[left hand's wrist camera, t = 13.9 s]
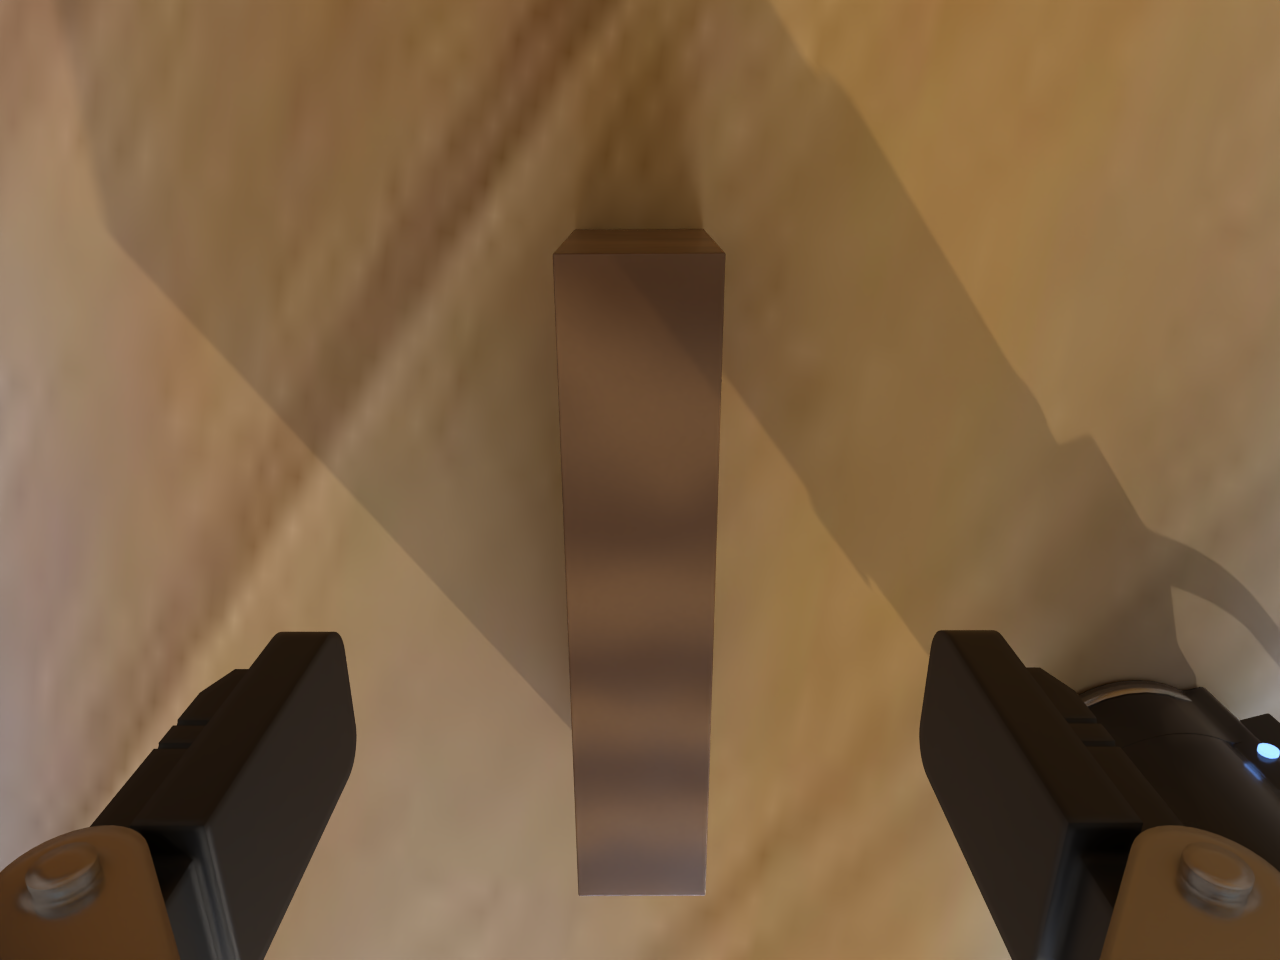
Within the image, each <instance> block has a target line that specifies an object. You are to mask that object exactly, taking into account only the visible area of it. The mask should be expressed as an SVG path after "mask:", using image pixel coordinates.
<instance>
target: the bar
mask: <svg viewBox="0 0 1280 960" xmlns="http://www.w3.org/2000/svg"><path fill="white" fill-rule="evenodd" d="M553 271H554V296H555V321H556V346H557V371H558V395H559V420H560V445H561V470H562V495H563V520H564V545H565V570H566V595H567V620H568V645H569V670H570V695H571V720H572V745H573V770H574V794H575V819H576V844H577V869H578V894H579V896H669V895H705V894H706V862H707V830H708V797H709V765H710V733H711V700H712V668H713V635H714V603H715V570H716V538H717V505H718V473H719V440H720V408H721V376H722V343H723V311H724V278H725V253H724V252H723V250H722V249H721V248H720V247H719V246H718V245H717V244H716V243H715V242H714V240H713V239H712V238H711V237H710V236H709V235H708V234H707V233H706V231H705V230H704V229H621V230H574V231H573V232H572V234H571V235H570V236H569V237H568V238H567V239H566V240H565V241H564V242H563V244H562V245H561V246H560V247H559V248H558V249H557V250H556V251H555V252H554V254H553Z"/></svg>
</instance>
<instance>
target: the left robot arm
mask: <svg viewBox="0 0 1280 960" xmlns="http://www.w3.org/2000/svg"><path fill="white" fill-rule="evenodd" d="M919 739H920V751H921V757H922V762H923V766H924V769H925V772H926V775H927V777H928V779H929V782H930V784H931V786H932V788H933V790H934V792H935V795H936V797H937V799H938V801H939V803H940V805H941V807H942V810H943V812H944V814H945V816H946V818H947V820H948V823H949V825H950V827H951V829H952V831H953V833H954V836H955V838H956V840H957V842H958V844H959V846H960V848H961V851H962V853H963V855H964V857H965V859H966V861H967V864H968V866H969V868H970V870H971V872H972V874H973V877H974V879H975V881H976V883H977V885H978V887H979V889H980V892H981V894H982V896H983V898H984V900H985V902H986V905H987V907H988V909H989V911H990V913H991V915H992V918H993V920H994V922H995V924H996V926H997V928H998V930H999V933H1000V935H1001V937H1002V939H1003V941H1004V943H1005V946H1006V948H1007V950H1008V952H1009V954H1010V956H1011V959H1012V960H1280V723H1279V722H1278V721H1277V720H1276V719H1275V718H1274V717H1272V716H1271V715H1270V714H1264V715H1260V716H1256V717H1252V718H1248V719H1244V720H1240V721H1239V720H1238V719H1237V718H1236V717H1235V716H1234V715H1233V714H1232V713H1231V712H1230V711H1229V710H1228V709H1226V708H1225V707H1224V706H1223V705H1222V704H1221V703H1220V702H1219V701H1218V700H1217V699H1216V698H1215V697H1214V696H1213V695H1212V694H1211V693H1209V692H1208V691H1207V690H1206V689H1205V688H1203V687H1199V688H1195V689H1191V690H1184V691H1181V690H1179V689H1177V688H1174V687H1172V686H1169V685H1166V684H1162V683H1157V682H1151V681H1123V682H1116V683H1111V684H1107V685H1103V686H1100V687H1097V688H1094V689H1091V690H1089V691H1086V692H1084V693H1082V694H1080V695H1078V694H1077V693H1076V692H1075V691H1074V690H1072V689H1071V688H1070V687H1068V686H1067V685H1065V684H1064V683H1062V682H1061V681H1059V680H1058V679H1056V678H1055V677H1053V676H1052V675H1050V674H1049V673H1047V672H1046V671H1044V670H1043V669H1041V668H1026V667H1025V666H1024V664H1023V663H1022V662H1021V660H1020V659H1019V658H1018V656H1017V655H1016V654H1015V652H1014V651H1013V650H1012V648H1011V647H1010V646H1009V644H1008V643H1007V642H1006V640H1005V639H1004V638H1003V636H1002V635H1001V634H1000V633H999V632H997V631H994V630H941V631H938V632H937V633H936V634H935V636H934V638H933V641H932V645H931V651H930V658H929V665H928V672H927V679H926V686H925V693H924V700H923V707H922V714H921V721H920V732H919ZM355 751H356V724H355V717H354V711H353V704H352V697H351V690H350V683H349V676H348V669H347V662H346V656H345V649H344V644H343V641H342V638H341V636H340V635H339V634H338V633H337V632H279V633H277V634H276V635H275V636H274V637H273V638H272V639H271V641H270V642H269V643H268V645H267V646H266V647H265V649H264V650H263V651H262V652H261V654H260V655H259V656H258V658H257V659H256V660H255V662H254V663H253V664H252V666H251V667H250V668H249V669H235V670H233V671H232V672H230V673H229V674H227V675H226V676H224V677H223V678H221V679H220V680H218V681H217V682H215V683H214V684H212V685H211V686H209V687H208V688H206V689H205V690H203V691H202V692H200V693H199V695H198V696H197V697H196V698H195V699H194V701H193V702H192V703H191V704H190V705H189V707H188V708H187V709H186V710H185V712H184V713H183V714H182V715H181V716H180V718H179V719H178V723H177V726H172V727H171V729H170V730H169V731H168V732H167V733H166V735H165V736H164V737H163V738H162V740H161V741H160V742H159V747H158V749H153V751H152V752H151V753H150V754H149V755H148V757H147V758H146V759H145V760H144V762H143V763H142V764H141V765H140V766H139V768H138V769H137V770H136V771H135V772H134V774H133V775H132V776H131V777H130V779H129V780H128V781H127V782H126V783H125V785H124V786H123V787H122V788H121V790H120V791H119V792H118V793H117V794H116V796H115V797H114V798H113V799H112V800H111V802H110V803H109V804H108V805H107V807H106V808H105V809H104V810H103V811H102V813H101V814H100V815H99V816H98V818H97V819H96V820H95V821H94V822H93V824H92V825H91V826H90V827H87V828H83V829H79V830H75V831H72V832H69V833H66V834H63V835H60V836H57V837H55V838H53V839H50V840H48V841H46V842H44V843H42V844H40V845H38V846H36V847H34V848H33V849H31V850H29V851H28V852H26V853H25V854H23V855H21V856H20V857H18V858H17V859H16V860H14V861H13V862H12V863H11V864H9V865H8V866H7V867H6V868H5V869H3V870H2V871H1V872H0V960H263V959H264V957H265V955H266V953H267V951H268V949H269V947H270V945H271V942H272V940H273V938H274V936H275V934H276V932H277V930H278V927H279V925H280V923H281V921H282V919H283V917H284V915H285V913H286V910H287V908H288V906H289V904H290V902H291V900H292V898H293V895H294V893H295V891H296V889H297V887H298V885H299V883H300V881H301V878H302V876H303V874H304V872H305V870H306V868H307V866H308V864H309V861H310V859H311V857H312V855H313V853H314V851H315V849H316V846H317V844H318V842H319V840H320V838H321V836H322V834H323V832H324V829H325V827H326V825H327V823H328V821H329V819H330V817H331V814H332V812H333V810H334V808H335V806H336V804H337V802H338V800H339V797H340V795H341V793H342V791H343V789H344V787H345V785H346V783H347V780H348V778H349V776H350V773H351V770H352V767H353V763H354V757H355Z"/></svg>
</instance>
